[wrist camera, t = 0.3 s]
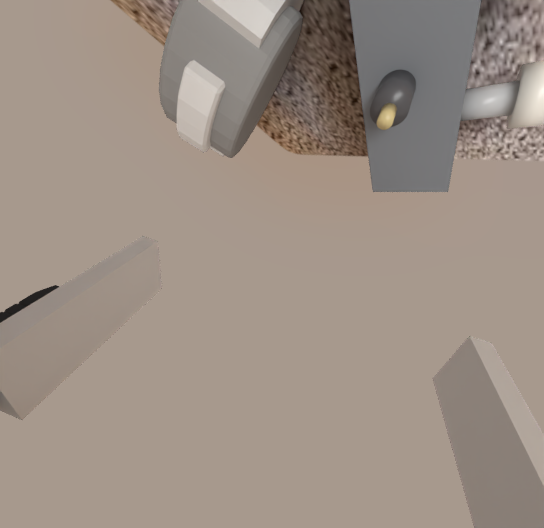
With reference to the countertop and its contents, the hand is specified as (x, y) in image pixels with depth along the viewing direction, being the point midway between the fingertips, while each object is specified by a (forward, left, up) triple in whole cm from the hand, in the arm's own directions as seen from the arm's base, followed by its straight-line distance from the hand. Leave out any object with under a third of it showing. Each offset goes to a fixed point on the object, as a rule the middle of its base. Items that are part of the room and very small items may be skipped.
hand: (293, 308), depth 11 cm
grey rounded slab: (-1, -17, -36) cm, 39 cm away
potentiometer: (+3, 0, -22) cm, 23 cm away
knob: (+9, +8, -31) cm, 33 cm away
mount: (+3, +1, -35) cm, 35 cm away
